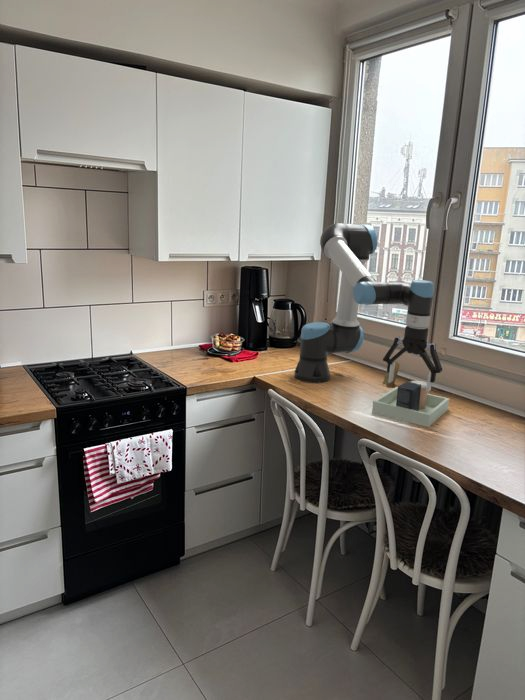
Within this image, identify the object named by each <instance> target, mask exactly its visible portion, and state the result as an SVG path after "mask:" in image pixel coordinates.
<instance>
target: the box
mask: <svg viewBox="0 0 525 700" xmlns="http://www.w3.org/2000/svg"><path fill="white" fill-rule="evenodd" d="M397 387H398V392H397V402H396V406H399V407H403V408H407V409H411V410H416V411H419V402H420V392H421V384H416V383H412V382H411V381H405V382H404V383H402V384H399V385H398V386H397Z"/></svg>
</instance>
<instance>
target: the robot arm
mask: <svg viewBox="0 0 525 700" xmlns="http://www.w3.org/2000/svg"><path fill="white" fill-rule="evenodd" d="M319 241H320V243H319V245H320V248H321V251H322V252H323V254H324V255H325V256H326V257H327V258H328V259H331V260H332V262H333V263H334V264H335V265H336V266H337V268H338V269H339V270H340V271H341V278H340V284H339V285H340V286H339V294H338V302H337V308H336V309H337V310H336V316H335V317H334V318H333V319H331V320H332V321H331V325H330V324H329V323H328V322H324V321H321V322H320V321H319V322H317V321H316V322H309V323H306V324H304V325H303V326H302V328H301V333H300V345H299V346H300V347H299V358H298V362H297V363H296V364H297V365H296V367H295V369H294V374H293V375H294V376H293V377H294V378H295V379H296V380H297V381H301V382H303V383H312V384H314V383H315V384H319V383H326V382H328V381H330V379H331V372H330V368H329V364H328V354H343V353H344V354H350V353H355V352H357V351H358V350H359V349H361V347H362V345H363V342H364V339H365V337H364V334H365V333H364V329H363V328H362V326H361V325H360V322H359V320H358V315H359V314H358V312H359V306H360V305H366V306H369V305H404V306H407V311H406V320H405V324H406V326H405V327H404V334H403V335H404V337H403V338H401V337H400V336H397V337H394V340H393V344H392V345H391V347H390V348H389V349H388V350H387V352H386V354H385V355H384V357H383V358H382V361H383V362H385V363H387V365H386V367H387V368H386V372H388V373H389V379H388V382H389V383H391V382H392V381H393V377H394V369H395V362H396V361H397V359H399V358H400V357H401V356H403V354H404V353H406V352H407V353H409V354H413V355H419V357H421V359H422V360H423V362H424V364H425V365H426V366H427V368H428V370H429V372H428V375H427V381H426V383H427V388H426V392H427V393H429V392H430V391H431V390H432V384H433V383H435V382H436V376H437V374H441V372H443V367H442V363H441V362H440V361H441V360H440V359H439V355H438V352H437V343H435V342H433V343H428V335H429V327H430V320H431V313H432V307H433V299H434V295H435V294H434V293H435V292H434V290H435V284H434V282H433V281H430V280H425V279H413V280H412V281H411V283H410V282H406V281H404V280H393V281H390V282H389V281H383V282H382V281H378V280H376V279H375V277H374V276H373V275H372V273H370V272H369V270H368V269H367V268H366V266H365V264H366V262H368V261H369V260H370V257H371V255H372V254H374V253H375V252H376V250H377V247H378V236H377V232H376V230H375V229H374V227H373V226H372V225H370V224H365V223H341V222H337V223H335V222H334V223H333V224H330V225H328V226H327V227H326V228H325V229H324V230H323V231H322V234H321V236H320V239H319ZM400 344H402V345H403V348H401V349H400V350H399V351H398V352H397V353H396V354H395V355H394V356H392V355H393V353H394V352H395V351H396V349H397V348H398V347H399V345H400ZM426 349H428V350H429V352H430V355H431V358H430V356H429V355H428V353H427V350H426ZM431 359H432V360H431Z"/></svg>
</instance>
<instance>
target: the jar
mask: <svg viewBox="0 0 525 700" xmlns="http://www.w3.org/2000/svg"><path fill="white" fill-rule="evenodd" d="M410 382H412V383H416V384H421V392H420V402H419V409H424V408H425V407H426V399H427V394H428V392H426V388H427V381H422V380H411V381H410Z"/></svg>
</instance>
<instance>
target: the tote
mask: <svg viewBox="0 0 525 700" xmlns="http://www.w3.org/2000/svg"><path fill="white" fill-rule="evenodd" d="M397 392H398V386H395V387H393V388H392V389H391V390H388V391H387V392H386V393H384V394H382V395H381V396H379V397H378V398H376V399H374V400H372V409H371V412H372V414H376V415H379V416H384V417H388V418H391V419H395V420H399V421H403V422H407V423H410V424H414V425H418V426H423V427H425V428H426V427H428V428H429V427H430V426H431V425H433V424H434V423H435V422H436V421H437V420H438V419H439V418H440V417H441V416H443V415H444V414H445V413H447V411H448V410H449V406H450V398H449V397H444V396H440V395H434V394H430V393H427V399H426V407H425V408H424V409H419V411H416V410H411V409H407V408H403V407H399V406H396V402H397Z"/></svg>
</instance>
